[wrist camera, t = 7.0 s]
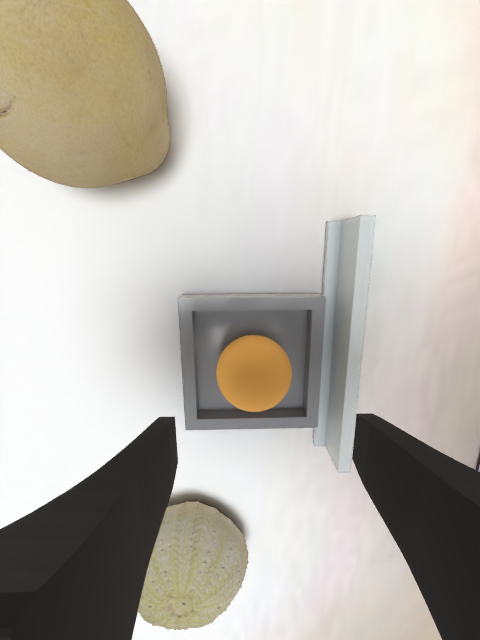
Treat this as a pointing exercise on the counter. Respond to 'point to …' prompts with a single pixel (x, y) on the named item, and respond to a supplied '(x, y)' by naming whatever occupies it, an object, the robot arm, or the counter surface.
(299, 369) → the dish
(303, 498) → the counter surface
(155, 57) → the potato
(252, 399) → the ball
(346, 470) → the divider
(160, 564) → the sea urchin shell
